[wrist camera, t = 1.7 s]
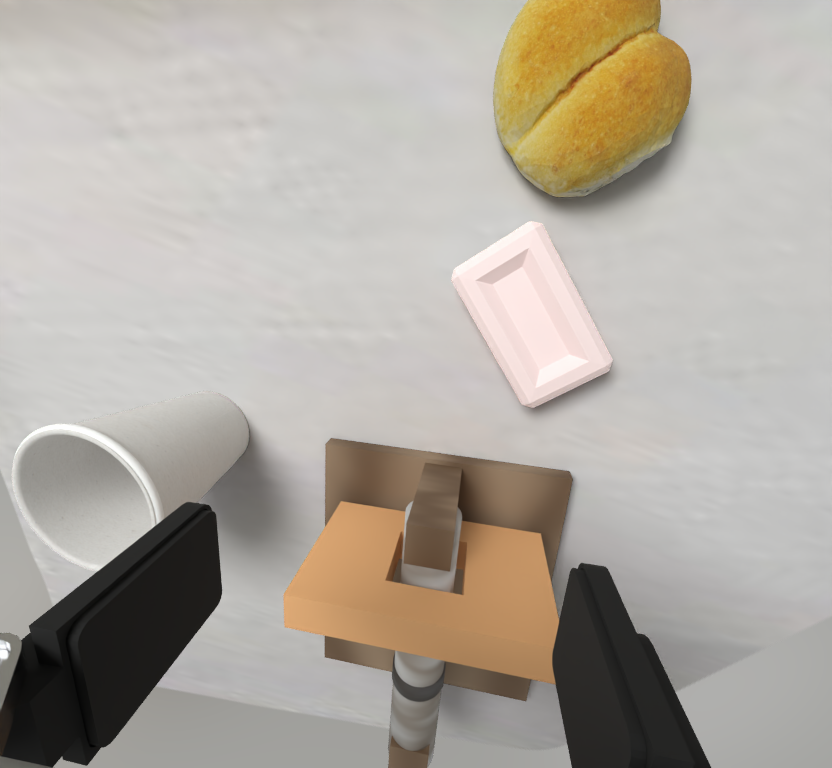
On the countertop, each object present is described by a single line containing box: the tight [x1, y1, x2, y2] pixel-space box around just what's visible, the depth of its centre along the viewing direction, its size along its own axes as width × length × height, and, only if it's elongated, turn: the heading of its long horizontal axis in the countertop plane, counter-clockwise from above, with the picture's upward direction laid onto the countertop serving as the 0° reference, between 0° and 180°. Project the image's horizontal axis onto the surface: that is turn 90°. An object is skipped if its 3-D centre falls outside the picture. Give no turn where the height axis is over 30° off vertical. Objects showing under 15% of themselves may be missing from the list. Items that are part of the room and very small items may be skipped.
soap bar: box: [451, 221, 613, 408], centre depth 22 cm, size 5×9×2 cm, turn 32°
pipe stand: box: [325, 438, 573, 768], centre depth 26 cm, size 16×19×8 cm
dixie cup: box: [12, 391, 249, 572], centre depth 24 cm, size 8×8×10 cm
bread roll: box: [493, 0, 691, 197], centre depth 18 cm, size 8×9×4 cm
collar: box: [284, 501, 559, 684], centre depth 22 cm, size 13×2×8 cm, turn 86°
